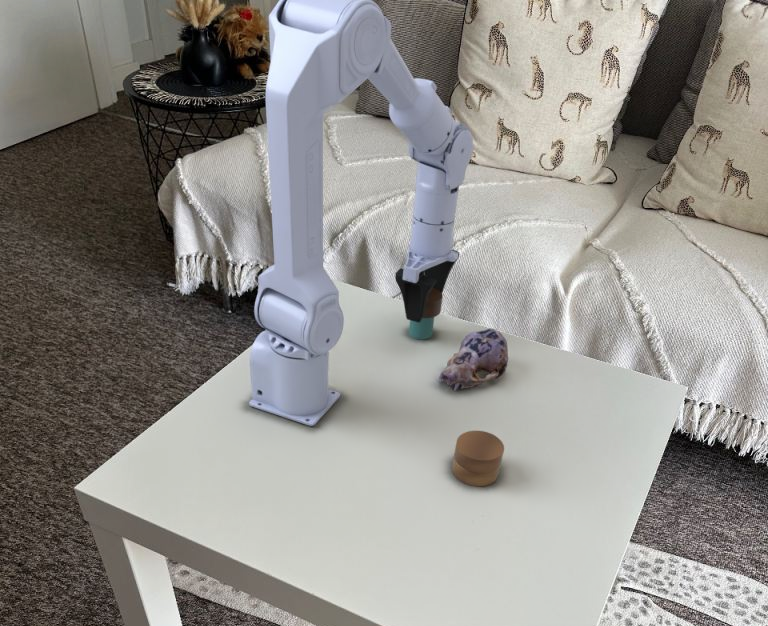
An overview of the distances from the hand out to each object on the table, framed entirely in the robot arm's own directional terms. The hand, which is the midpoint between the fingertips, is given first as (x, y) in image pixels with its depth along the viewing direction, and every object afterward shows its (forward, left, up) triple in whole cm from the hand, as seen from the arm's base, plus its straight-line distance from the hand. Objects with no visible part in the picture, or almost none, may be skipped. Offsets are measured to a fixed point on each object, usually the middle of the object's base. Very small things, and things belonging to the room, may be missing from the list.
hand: (423, 309), depth 105 cm
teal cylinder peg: (0, 0, -4) cm, 4 cm away
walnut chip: (0, 0, 0) cm, 0 cm away
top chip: (+18, -27, -2) cm, 33 cm away
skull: (+10, -7, -4) cm, 13 cm away
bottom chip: (+18, -27, -4) cm, 33 cm away
